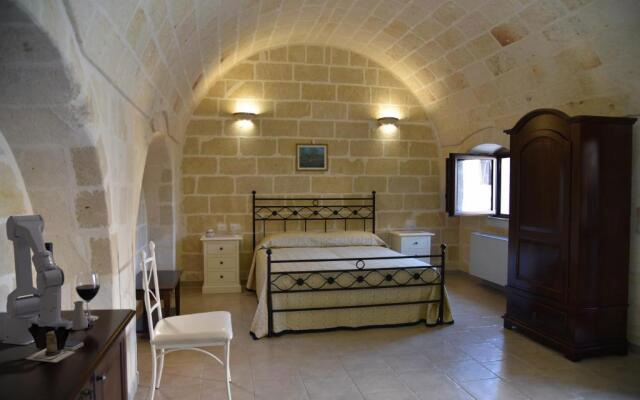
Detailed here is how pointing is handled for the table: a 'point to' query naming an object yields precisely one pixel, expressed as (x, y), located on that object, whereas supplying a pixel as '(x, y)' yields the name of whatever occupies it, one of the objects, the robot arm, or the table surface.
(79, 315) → the flask
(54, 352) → the stamp
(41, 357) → the paper sheet
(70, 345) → the ink pad
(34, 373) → the table surface
